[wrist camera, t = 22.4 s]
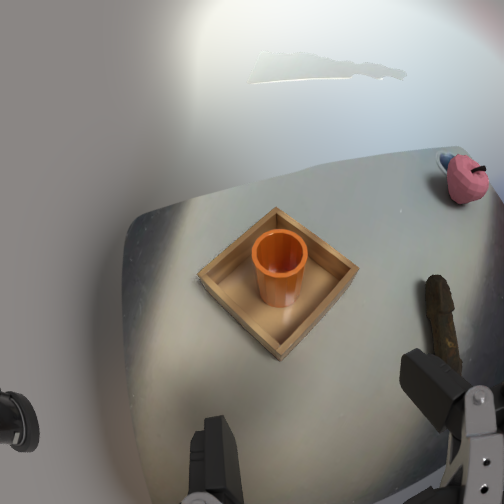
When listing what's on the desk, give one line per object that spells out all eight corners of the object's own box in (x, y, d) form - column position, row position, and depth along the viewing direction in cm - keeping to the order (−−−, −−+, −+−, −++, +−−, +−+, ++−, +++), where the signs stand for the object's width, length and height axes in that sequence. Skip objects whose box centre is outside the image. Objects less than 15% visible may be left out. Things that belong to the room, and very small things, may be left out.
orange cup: (248, 288, 35) (240, 253, 28) (278, 260, 37) (278, 220, 29) (280, 316, 33) (281, 288, 25) (310, 286, 35) (318, 250, 27)
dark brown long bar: (454, 407, 24) (473, 404, 20) (431, 413, 24) (450, 412, 20) (439, 281, 33) (454, 266, 30) (418, 282, 34) (432, 267, 30)
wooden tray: (206, 290, 36) (196, 273, 32) (276, 228, 41) (275, 206, 36) (280, 361, 31) (281, 355, 26) (350, 285, 35) (359, 268, 30)
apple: (460, 180, 43) (478, 146, 35) (480, 213, 39) (503, 179, 30) (429, 182, 43) (447, 143, 35) (450, 217, 39) (474, 179, 30)
